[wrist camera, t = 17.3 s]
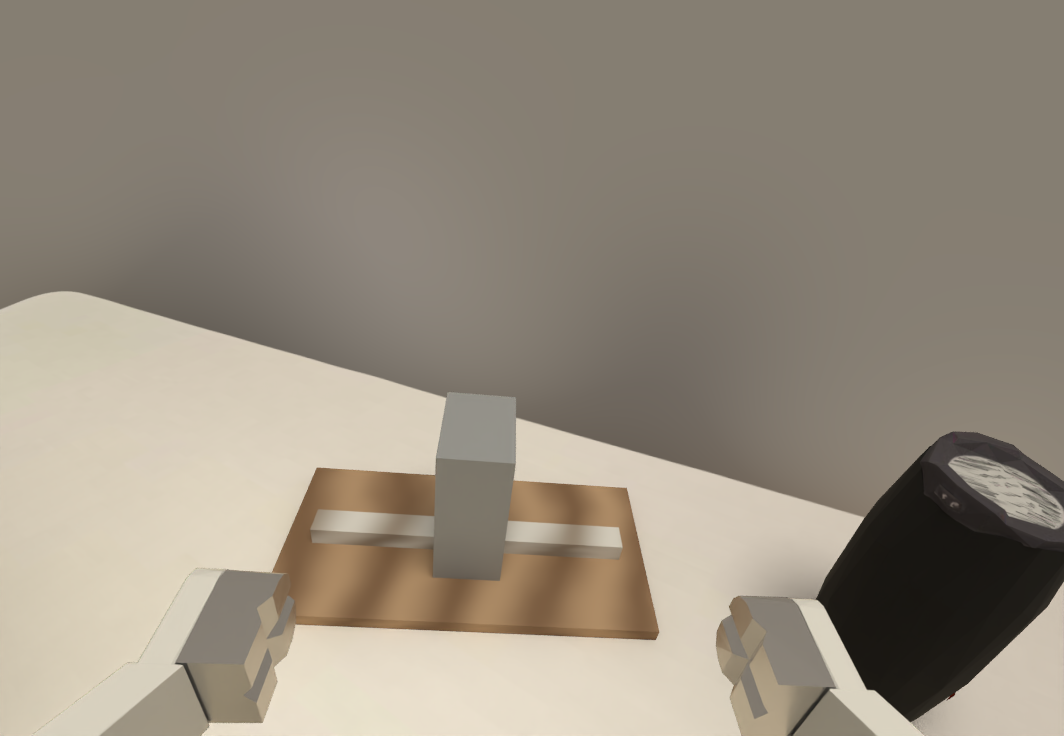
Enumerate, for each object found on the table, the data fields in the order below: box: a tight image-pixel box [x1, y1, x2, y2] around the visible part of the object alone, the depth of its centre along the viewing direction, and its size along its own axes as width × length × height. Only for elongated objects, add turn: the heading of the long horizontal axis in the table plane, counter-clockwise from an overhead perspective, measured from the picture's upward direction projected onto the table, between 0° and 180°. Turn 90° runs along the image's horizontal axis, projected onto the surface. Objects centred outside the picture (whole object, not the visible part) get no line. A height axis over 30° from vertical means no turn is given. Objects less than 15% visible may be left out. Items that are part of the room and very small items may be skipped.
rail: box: [272, 468, 659, 640], centre depth 44 cm, size 28×14×2 cm, turn 91°
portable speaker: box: [816, 432, 1064, 722], centre depth 34 cm, size 9×9×20 cm
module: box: [433, 392, 516, 581], centre depth 41 cm, size 5×7×12 cm
